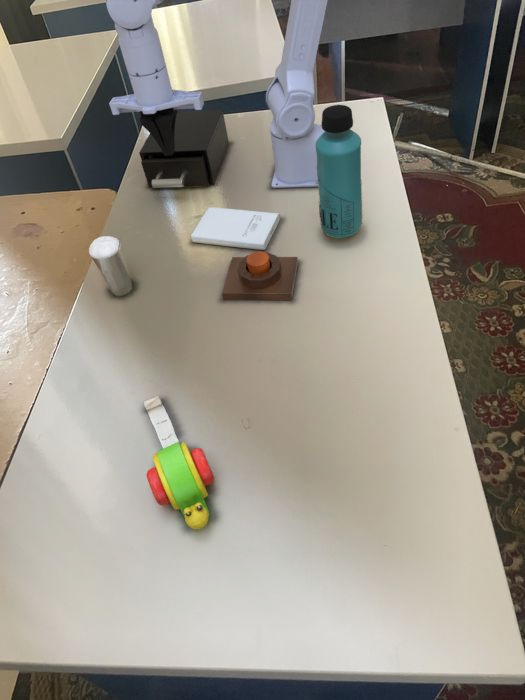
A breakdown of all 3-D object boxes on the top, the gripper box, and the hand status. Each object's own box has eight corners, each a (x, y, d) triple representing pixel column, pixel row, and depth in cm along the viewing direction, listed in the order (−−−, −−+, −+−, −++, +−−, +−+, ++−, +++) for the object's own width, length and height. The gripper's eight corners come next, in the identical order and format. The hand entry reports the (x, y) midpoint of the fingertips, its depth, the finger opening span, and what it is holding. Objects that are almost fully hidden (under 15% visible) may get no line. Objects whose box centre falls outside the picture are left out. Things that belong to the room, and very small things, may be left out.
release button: (271, 260, 82) (270, 251, 81) (268, 275, 80) (267, 265, 79) (250, 260, 83) (248, 251, 82) (246, 275, 81) (244, 265, 80)
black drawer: (202, 200, 98) (195, 174, 94) (141, 202, 100) (133, 176, 97) (222, 147, 110) (217, 121, 106) (168, 149, 112) (161, 124, 108)
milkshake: (135, 300, 84) (114, 247, 77) (103, 298, 86) (78, 246, 78) (146, 280, 87) (125, 226, 80) (114, 278, 89) (91, 226, 81)
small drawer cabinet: (214, 184, 103) (206, 149, 98) (149, 186, 105) (138, 152, 100) (229, 143, 112) (222, 109, 107) (169, 146, 114) (160, 113, 109)
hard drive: (211, 213, 97) (280, 220, 93) (192, 243, 92) (264, 251, 88) (209, 205, 96) (279, 211, 92) (190, 235, 91) (263, 243, 87)
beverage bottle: (368, 224, 89) (369, 99, 74) (354, 250, 86) (352, 124, 71) (329, 218, 92) (322, 95, 77) (314, 243, 88) (304, 119, 73)
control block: (298, 263, 85) (296, 247, 83) (291, 300, 80) (289, 284, 78) (233, 263, 87) (230, 248, 85) (223, 299, 82) (219, 284, 80)
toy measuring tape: (176, 551, 58) (159, 523, 53) (130, 413, 71) (112, 380, 66) (233, 523, 59) (222, 494, 54) (178, 393, 72) (164, 359, 67)
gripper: (92, 83, 83) (121, 167, 93) (187, 76, 80) (206, 163, 90) (107, 62, 87) (134, 144, 97) (198, 55, 84) (215, 140, 94)
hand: (169, 152), depth 94 cm, fingers closed
